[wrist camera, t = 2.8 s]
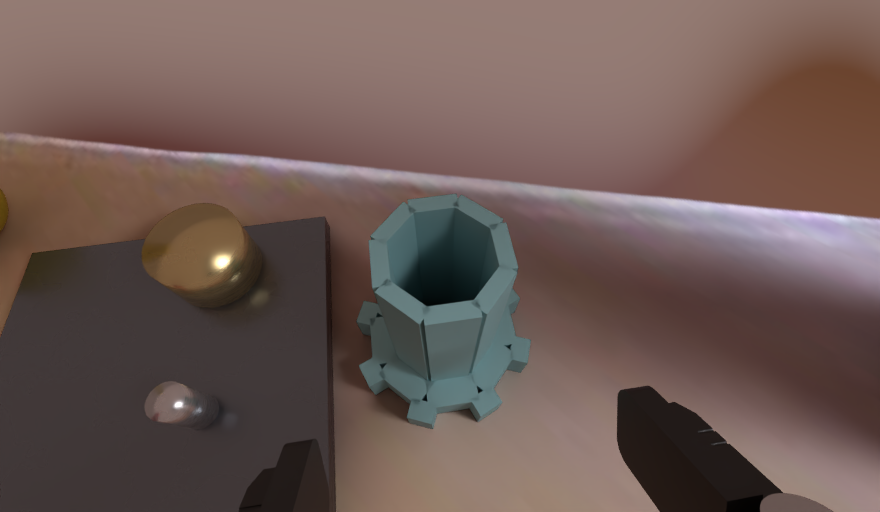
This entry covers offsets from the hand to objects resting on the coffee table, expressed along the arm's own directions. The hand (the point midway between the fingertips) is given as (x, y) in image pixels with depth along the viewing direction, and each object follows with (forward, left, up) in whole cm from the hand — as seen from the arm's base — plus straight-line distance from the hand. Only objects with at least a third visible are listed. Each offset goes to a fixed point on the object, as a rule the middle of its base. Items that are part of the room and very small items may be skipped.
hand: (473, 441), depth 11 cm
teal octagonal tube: (0, -6, -10) cm, 12 cm away
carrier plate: (+14, -5, -10) cm, 18 cm away
